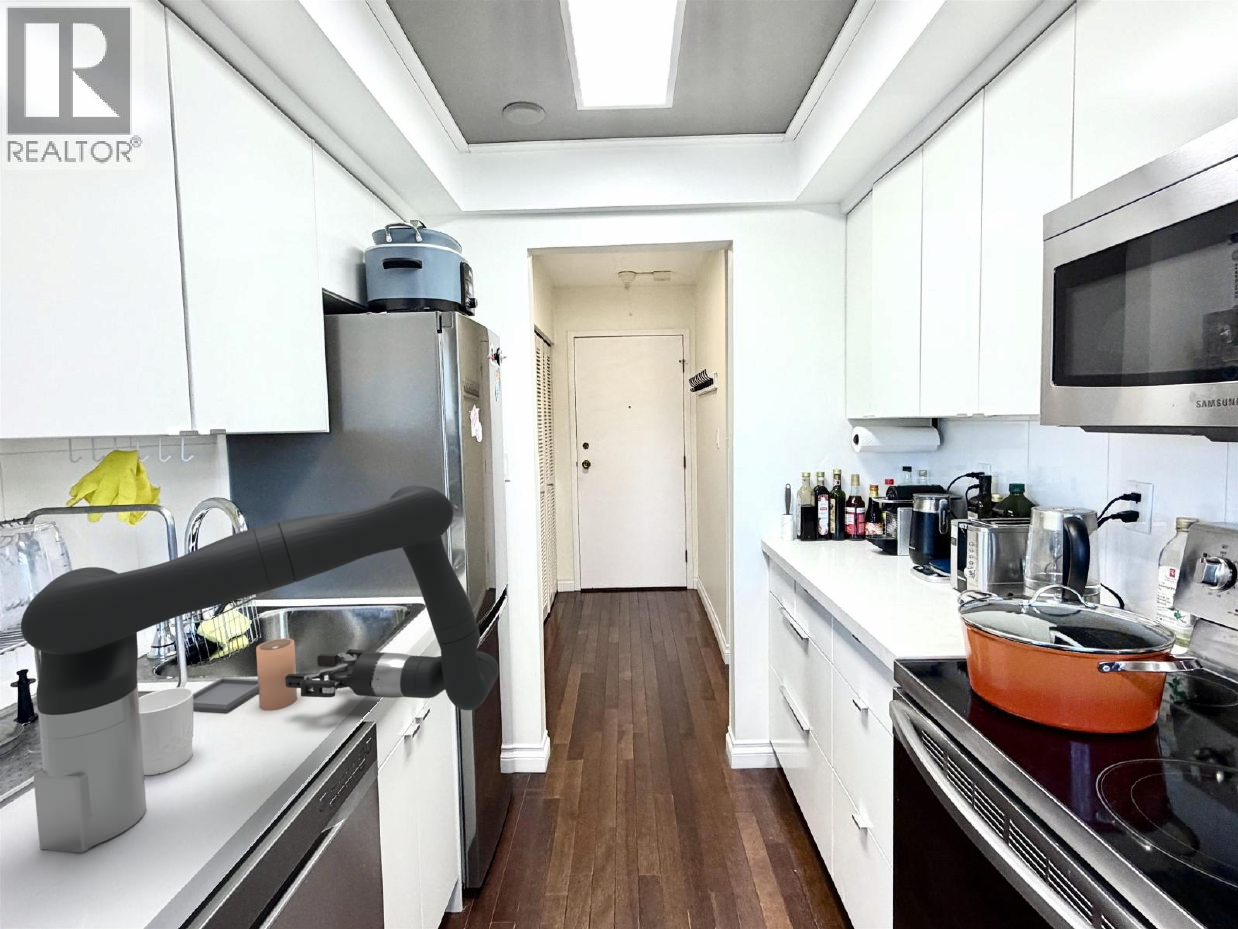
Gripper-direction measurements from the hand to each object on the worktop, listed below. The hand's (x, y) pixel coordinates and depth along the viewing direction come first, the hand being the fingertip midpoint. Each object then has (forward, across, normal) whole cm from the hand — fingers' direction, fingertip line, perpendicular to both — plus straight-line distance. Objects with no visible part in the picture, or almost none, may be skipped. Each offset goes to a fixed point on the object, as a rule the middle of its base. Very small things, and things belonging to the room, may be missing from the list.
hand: (303, 669), depth 103 cm
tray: (+16, 0, +6) cm, 18 cm away
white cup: (+9, +19, +7) cm, 22 cm away
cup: (+5, 0, +6) cm, 8 cm away
